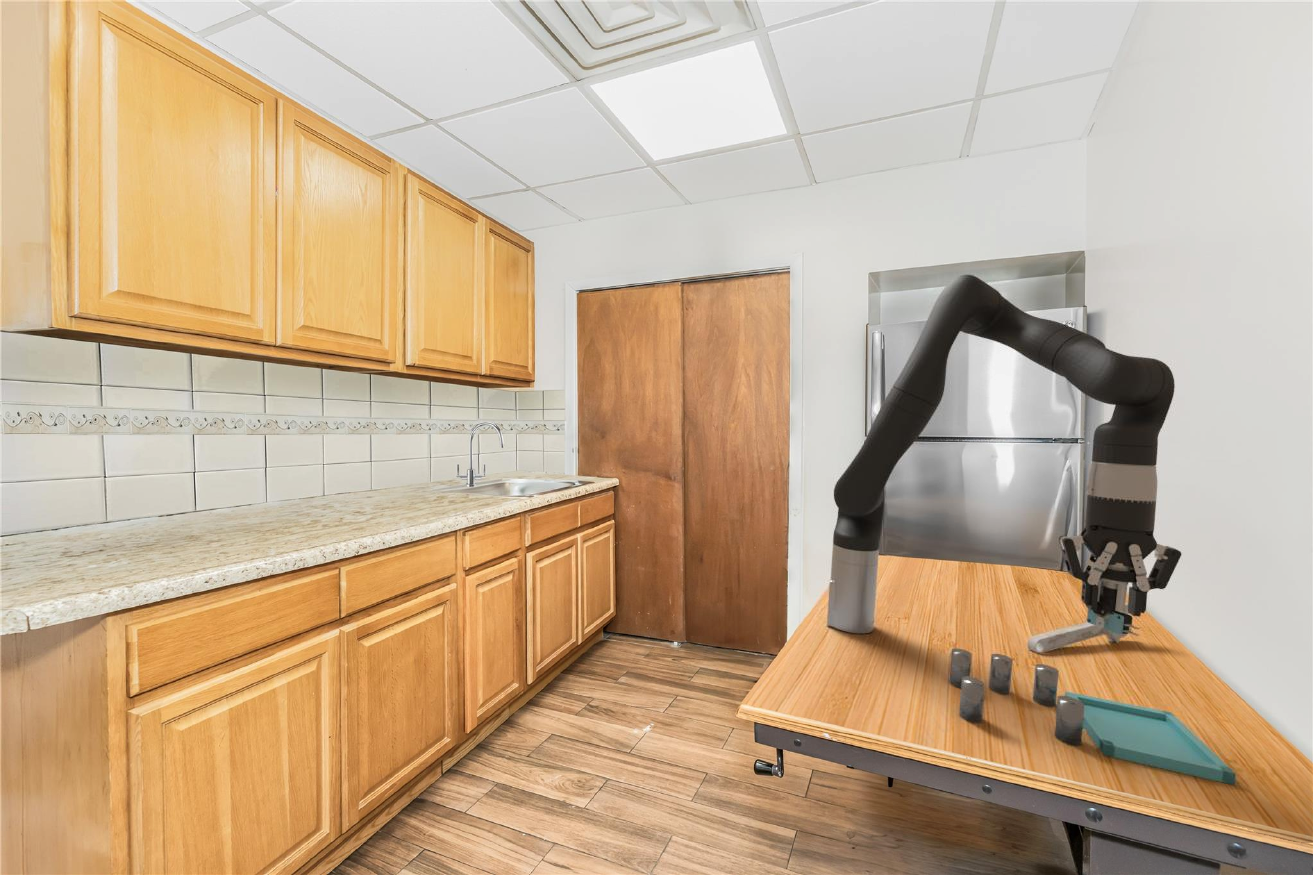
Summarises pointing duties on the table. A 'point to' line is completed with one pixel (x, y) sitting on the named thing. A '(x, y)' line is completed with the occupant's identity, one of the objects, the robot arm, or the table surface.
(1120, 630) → the push button
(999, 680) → the standoff cluster
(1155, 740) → the tray
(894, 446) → the robot arm
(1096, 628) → the wrench
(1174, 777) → the table surface
